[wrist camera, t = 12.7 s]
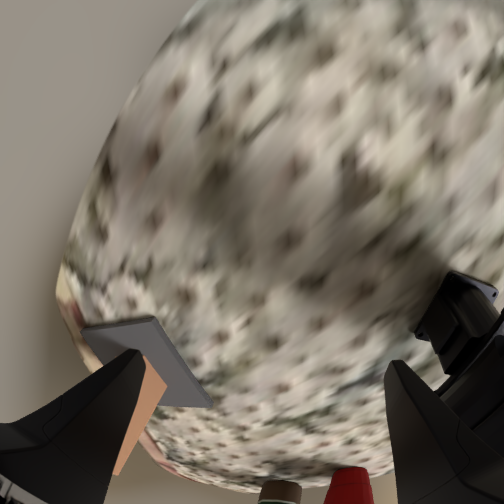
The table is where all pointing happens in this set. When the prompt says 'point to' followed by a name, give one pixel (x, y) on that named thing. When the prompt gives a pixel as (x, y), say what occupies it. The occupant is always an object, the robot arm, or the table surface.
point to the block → (141, 412)
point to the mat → (150, 358)
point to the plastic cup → (350, 487)
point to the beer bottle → (280, 493)
